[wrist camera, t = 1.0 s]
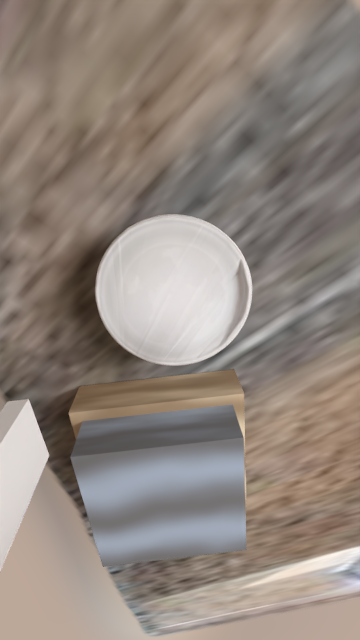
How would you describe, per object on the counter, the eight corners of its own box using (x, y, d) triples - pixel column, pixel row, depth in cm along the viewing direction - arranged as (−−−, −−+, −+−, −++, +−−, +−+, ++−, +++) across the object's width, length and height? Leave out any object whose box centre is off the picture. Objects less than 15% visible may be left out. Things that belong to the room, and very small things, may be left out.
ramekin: (229, 340, 30) (242, 369, 25) (108, 336, 29) (97, 365, 24) (245, 214, 26) (265, 220, 21) (104, 206, 25) (91, 210, 20)
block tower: (79, 386, 31) (53, 448, 23) (234, 369, 31) (256, 425, 23) (107, 496, 36) (93, 574, 29) (238, 481, 37) (257, 555, 29)
